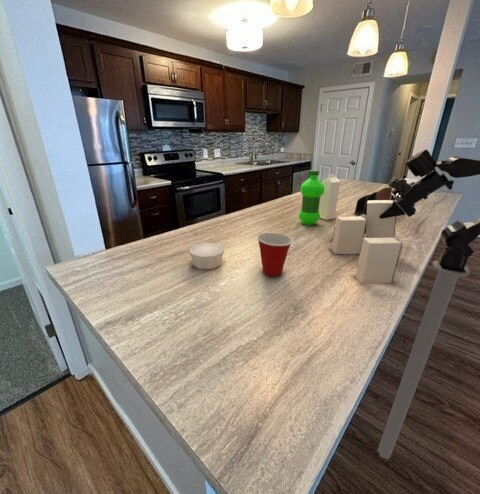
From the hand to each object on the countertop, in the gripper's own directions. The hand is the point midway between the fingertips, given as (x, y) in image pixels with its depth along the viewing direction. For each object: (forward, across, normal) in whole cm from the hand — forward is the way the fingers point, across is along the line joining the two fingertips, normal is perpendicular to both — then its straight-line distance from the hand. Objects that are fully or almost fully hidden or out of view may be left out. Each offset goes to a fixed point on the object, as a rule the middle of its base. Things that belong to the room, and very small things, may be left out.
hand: (379, 215), depth 93 cm
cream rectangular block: (+4, 0, +6) cm, 8 cm away
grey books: (+13, -14, +6) cm, 20 cm away
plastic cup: (+30, +31, -11) cm, 45 cm away
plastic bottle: (+29, -21, -10) cm, 37 cm away
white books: (+13, +14, +6) cm, 20 cm away
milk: (+24, -34, -5) cm, 42 cm away
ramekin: (+46, +34, -27) cm, 63 cm away
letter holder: (+9, -54, +10) cm, 55 cm away
